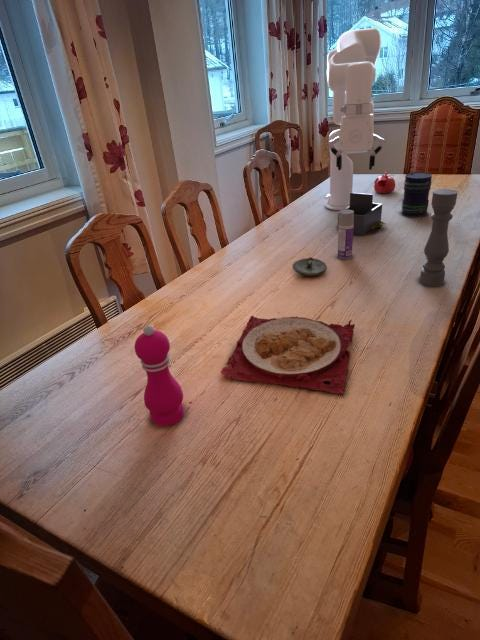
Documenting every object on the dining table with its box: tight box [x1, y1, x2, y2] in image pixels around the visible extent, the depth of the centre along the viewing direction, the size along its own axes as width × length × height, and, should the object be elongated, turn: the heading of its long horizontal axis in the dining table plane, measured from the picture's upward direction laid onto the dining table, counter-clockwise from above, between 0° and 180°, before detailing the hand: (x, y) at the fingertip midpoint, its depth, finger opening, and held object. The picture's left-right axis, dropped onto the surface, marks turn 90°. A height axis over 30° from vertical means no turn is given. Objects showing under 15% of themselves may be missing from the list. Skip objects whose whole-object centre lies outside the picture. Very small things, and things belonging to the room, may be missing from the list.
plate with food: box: [220, 315, 356, 395], centre depth 96 cm, size 24×26×4 cm
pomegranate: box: [373, 171, 396, 194], centre depth 202 cm, size 10×10×9 cm
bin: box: [337, 191, 383, 236], centre depth 160 cm, size 17×10×12 cm, turn 142°
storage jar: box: [400, 171, 433, 218], centre depth 169 cm, size 10×10×15 cm
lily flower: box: [372, 220, 386, 229], centre depth 163 cm, size 12×12×5 cm
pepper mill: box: [134, 324, 185, 427], centre depth 77 cm, size 7×7×20 cm
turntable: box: [353, 224, 382, 236], centre depth 164 cm, size 16×16×1 cm
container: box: [337, 210, 354, 260], centre depth 137 cm, size 5×5×15 cm
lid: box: [292, 257, 328, 277], centre depth 133 cm, size 10×10×5 cm
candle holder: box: [419, 188, 458, 288], centre depth 114 cm, size 6×6×25 cm
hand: (355, 169), depth 138 cm, fingers open, 9 cm apart
